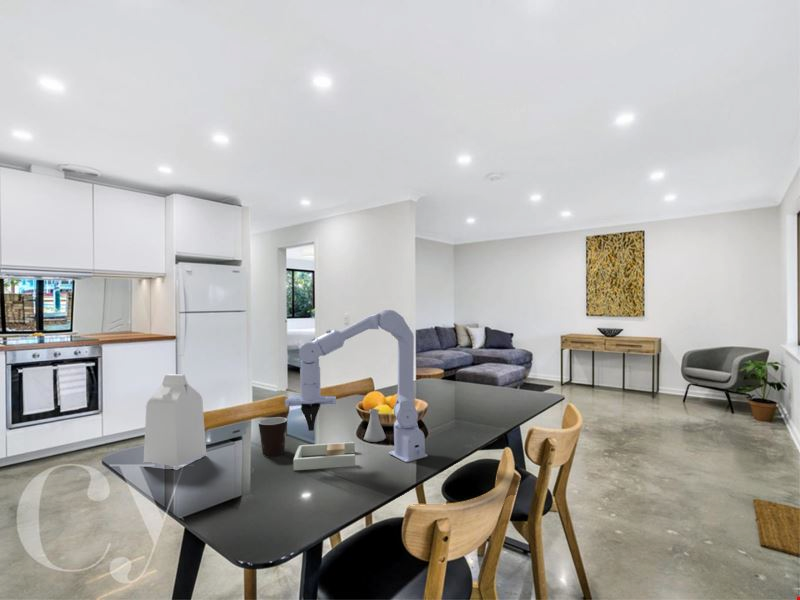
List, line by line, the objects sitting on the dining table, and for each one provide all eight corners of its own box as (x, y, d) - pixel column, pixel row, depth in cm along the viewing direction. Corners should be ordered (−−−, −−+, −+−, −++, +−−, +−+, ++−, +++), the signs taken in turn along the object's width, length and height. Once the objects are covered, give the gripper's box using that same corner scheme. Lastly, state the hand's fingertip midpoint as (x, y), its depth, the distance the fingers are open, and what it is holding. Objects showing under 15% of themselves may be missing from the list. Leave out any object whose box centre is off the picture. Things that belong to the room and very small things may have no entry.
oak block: (344, 456, 122) (344, 443, 123) (344, 462, 118) (344, 448, 118) (328, 457, 122) (327, 444, 122) (327, 464, 117) (327, 450, 117)
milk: (206, 456, 126) (205, 372, 126) (176, 470, 114) (175, 378, 115) (175, 453, 129) (174, 371, 129) (143, 467, 118) (142, 377, 118)
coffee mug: (279, 458, 122) (278, 425, 122) (253, 457, 123) (252, 424, 124) (296, 445, 133) (296, 415, 133) (272, 444, 135) (272, 414, 135)
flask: (375, 444, 133) (375, 413, 133) (359, 440, 137) (359, 410, 138) (389, 438, 139) (389, 408, 139) (373, 434, 143) (373, 406, 143)
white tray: (354, 451, 126) (354, 441, 126) (355, 466, 114) (354, 455, 114) (298, 455, 124) (298, 445, 124) (293, 470, 112) (293, 459, 112)
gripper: (283, 386, 114) (283, 435, 114) (334, 384, 116) (335, 432, 116) (286, 382, 121) (287, 428, 121) (335, 380, 123) (336, 425, 123)
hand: (311, 429), depth 119 cm, fingers closed
